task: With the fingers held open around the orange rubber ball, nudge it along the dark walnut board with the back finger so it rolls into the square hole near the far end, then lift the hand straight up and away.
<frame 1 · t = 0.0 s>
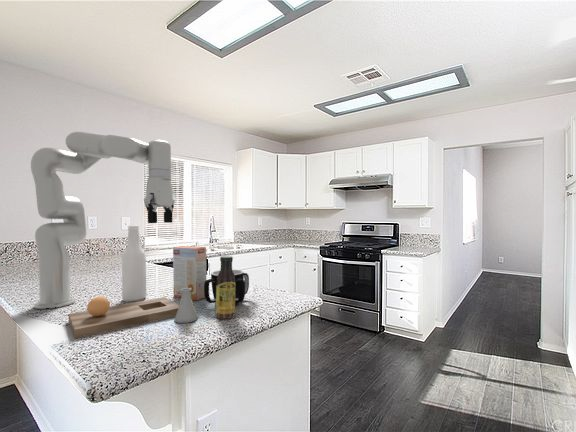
hand: (160, 222, 110), 31 cm above the worktop, tool pointing down, fingers open, 9 cm apart
board: (127, 318, 101), on the worktop
ball: (98, 306, 95), point 5 cm above the worktop, touching board
flask: (186, 320, 98), on the worktop
alcohol: (134, 299, 124), on the worktop
cracker box: (190, 297, 126), on the worktop
sauce bottle: (225, 317, 101), on the worktop
mug: (228, 304, 116), on the worktop
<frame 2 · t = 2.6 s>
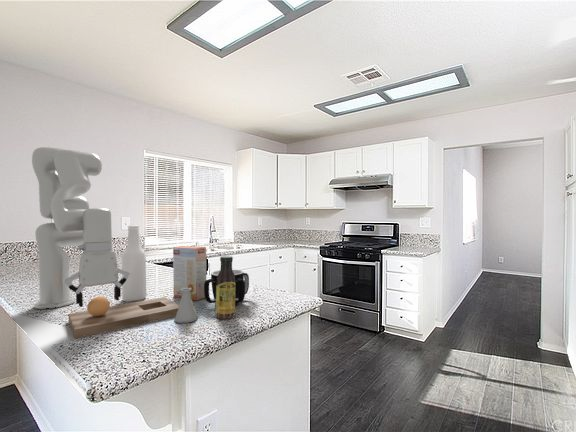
hand: (99, 302, 95), 7 cm above the worktop, tool pointing down, fingers open, 9 cm apart
nothing on the worktop moved.
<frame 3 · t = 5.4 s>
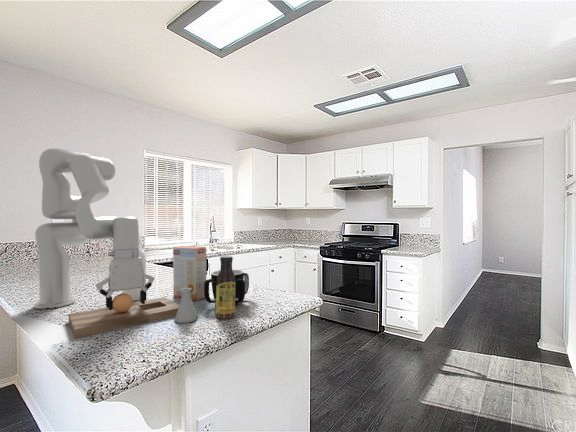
hand: (126, 306, 100), 4 cm above the worktop, tool pointing down, fingers open, 9 cm apart
ball: (122, 302, 99), point 5 cm above the worktop, tilted 125°, touching board
everything else where it was.
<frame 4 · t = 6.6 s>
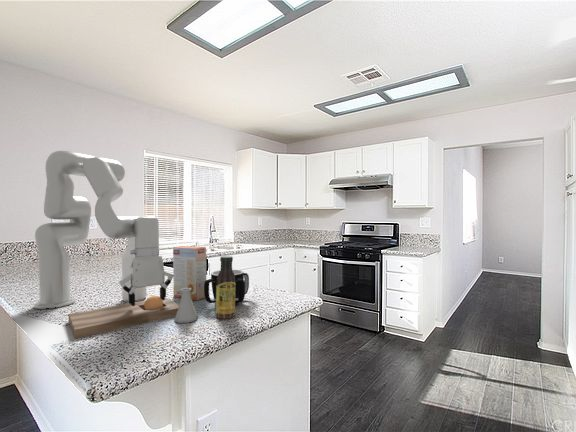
hand: (147, 302, 105), 4 cm above the worktop, tool pointing down, fingers open, 9 cm apart
ball: (153, 304, 105), point 3 cm above the worktop, tilted 34°, touching gripper
everything else where it was.
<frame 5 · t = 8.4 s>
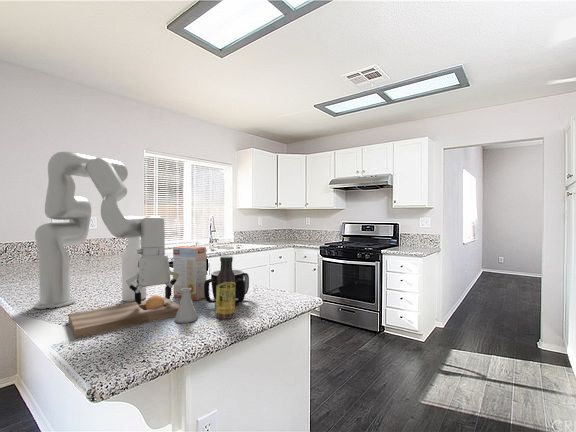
hand: (153, 301, 106), 4 cm above the worktop, tool pointing down, fingers open, 9 cm apart
ball: (155, 304, 106), point 3 cm above the worktop, tilted 22°
everything else where it was.
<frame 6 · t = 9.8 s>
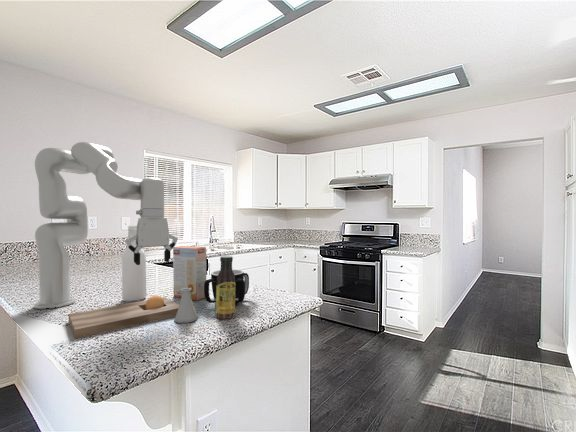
hand: (152, 263, 106), 17 cm above the worktop, tool pointing down, fingers open, 9 cm apart
nothing on the worktop moved.
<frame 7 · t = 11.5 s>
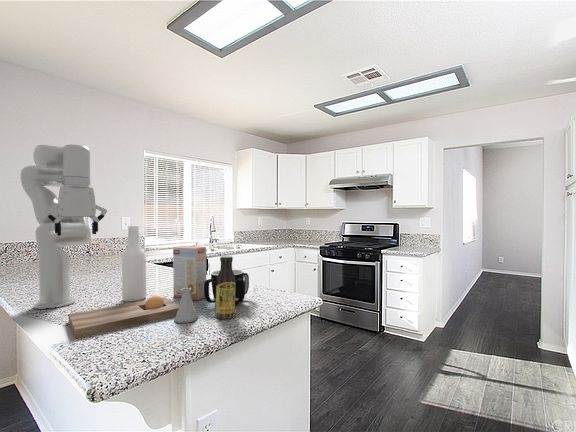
hand: (77, 234, 101), 28 cm above the worktop, tool pointing down, fingers open, 9 cm apart
nothing on the worktop moved.
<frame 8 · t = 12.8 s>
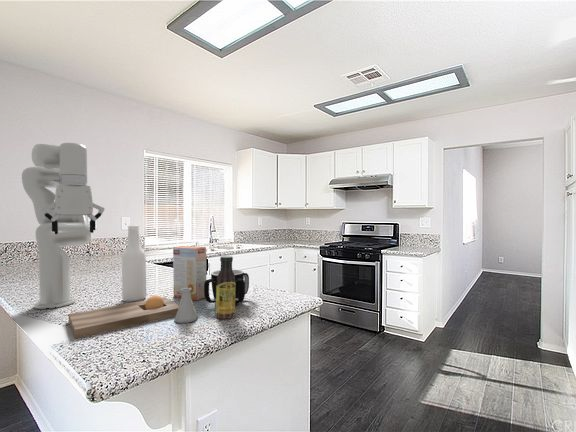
hand: (74, 233, 101), 28 cm above the worktop, tool pointing down, fingers open, 9 cm apart
nothing on the worktop moved.
at the end: ball 0.8 cm from the target spot on the board, point 3.0 cm above the board's base; ball moved 16.8 cm from its start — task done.
